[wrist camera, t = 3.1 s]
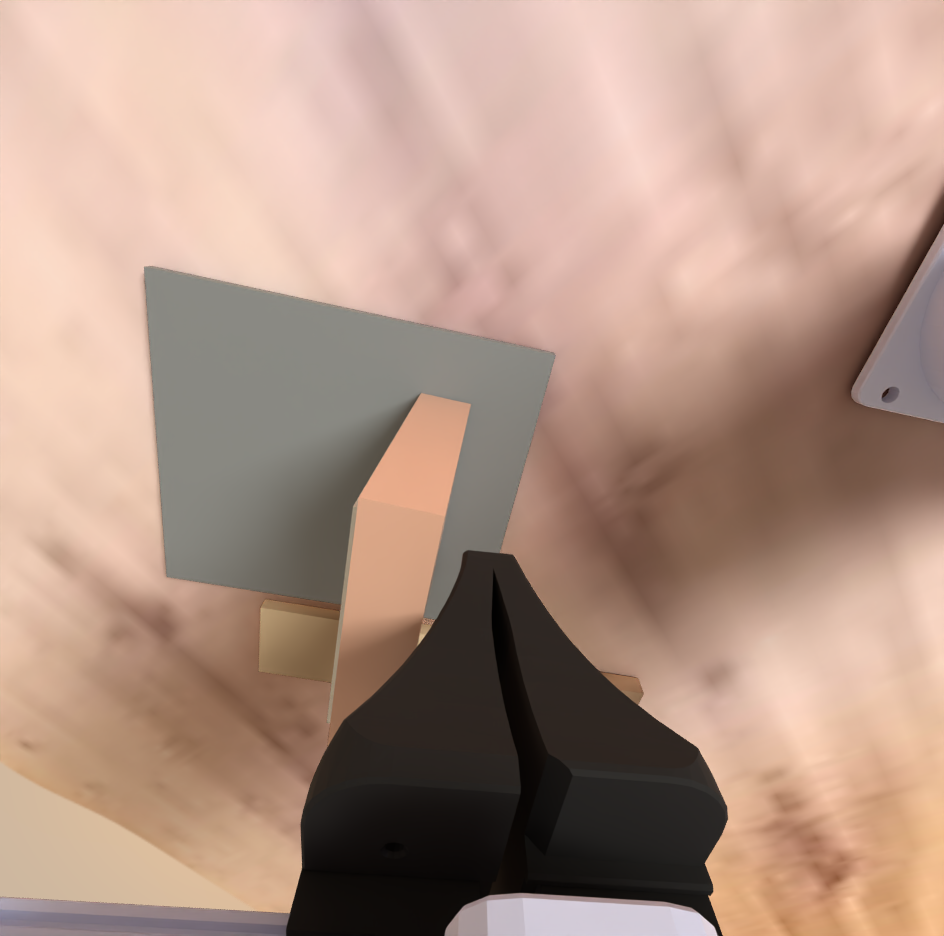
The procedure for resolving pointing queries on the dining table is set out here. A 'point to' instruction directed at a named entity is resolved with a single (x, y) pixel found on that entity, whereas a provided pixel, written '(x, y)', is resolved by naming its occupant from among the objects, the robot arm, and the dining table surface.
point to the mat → (316, 430)
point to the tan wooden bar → (332, 644)
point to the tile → (394, 552)
